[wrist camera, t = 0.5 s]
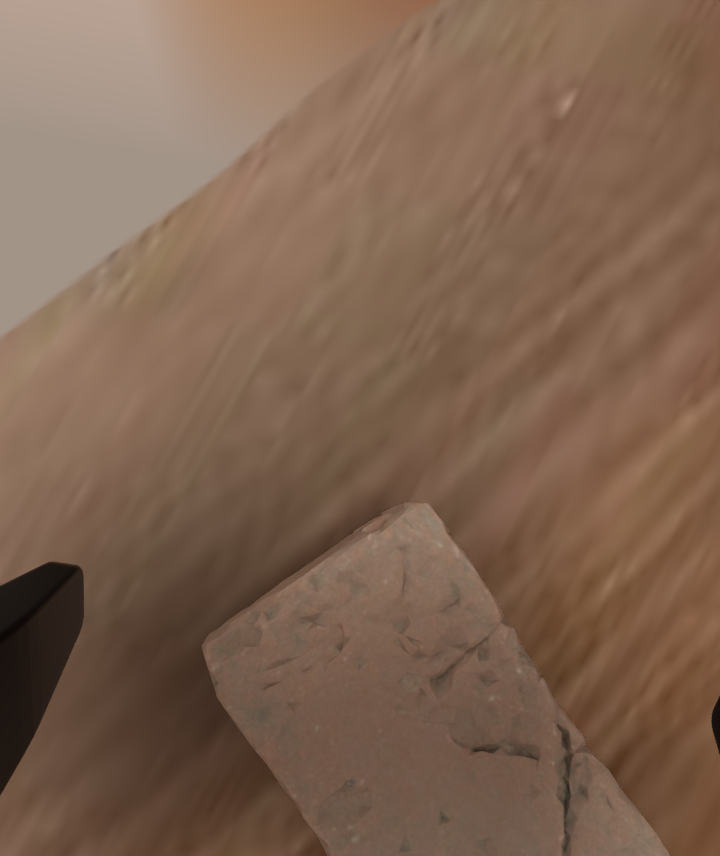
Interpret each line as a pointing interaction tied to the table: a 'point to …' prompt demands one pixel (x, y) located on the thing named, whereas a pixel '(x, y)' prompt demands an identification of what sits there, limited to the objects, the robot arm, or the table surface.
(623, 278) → the table surface
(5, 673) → the robot arm
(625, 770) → the table surface
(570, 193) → the table surface
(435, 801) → the brick
